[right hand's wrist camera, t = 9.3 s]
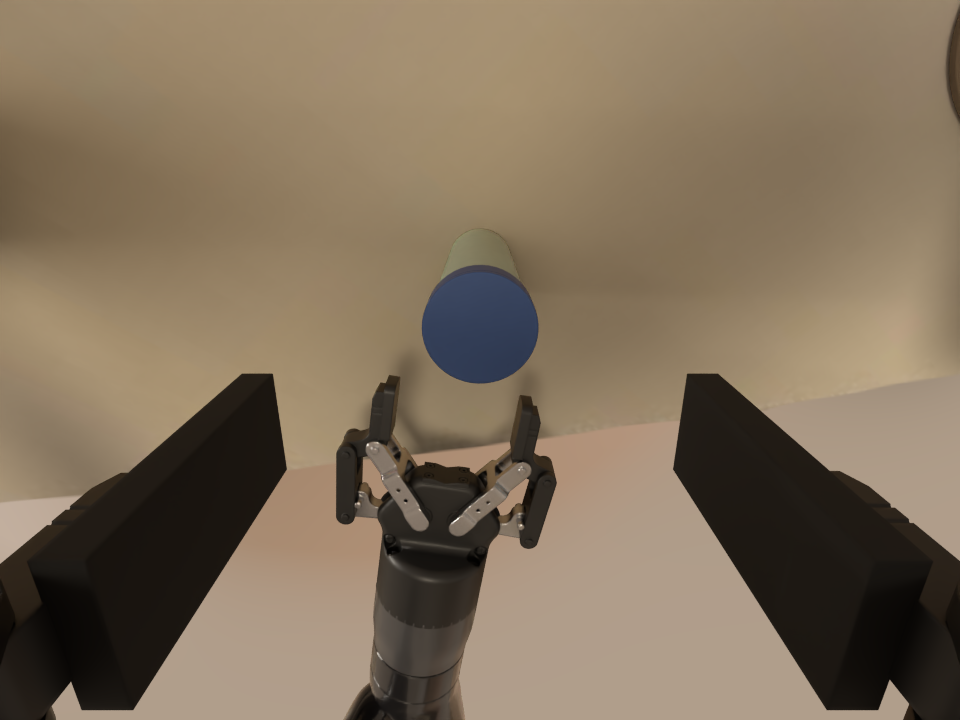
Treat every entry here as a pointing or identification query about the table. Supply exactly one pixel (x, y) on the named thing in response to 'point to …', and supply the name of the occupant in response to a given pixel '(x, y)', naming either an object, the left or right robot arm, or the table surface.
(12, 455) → the table surface
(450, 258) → the bottle
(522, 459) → the left robot arm
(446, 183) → the table surface
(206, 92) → the table surface
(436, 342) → the lid
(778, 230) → the table surface
